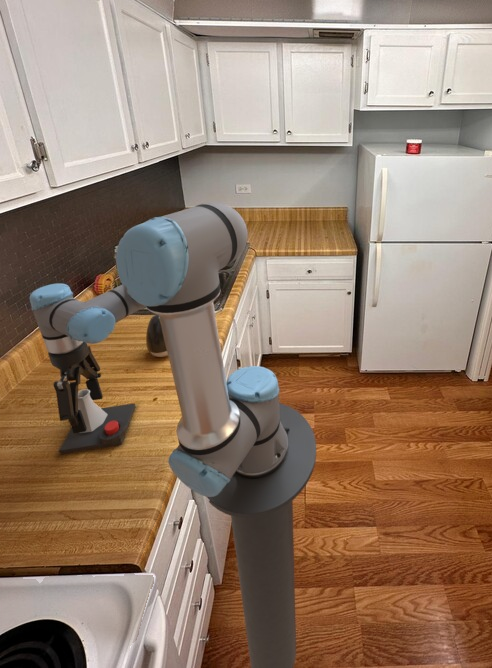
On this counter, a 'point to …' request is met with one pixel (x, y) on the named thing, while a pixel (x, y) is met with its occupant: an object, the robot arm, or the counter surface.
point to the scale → (100, 432)
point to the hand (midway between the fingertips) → (89, 414)
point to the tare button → (111, 427)
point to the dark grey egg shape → (155, 338)
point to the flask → (90, 411)
